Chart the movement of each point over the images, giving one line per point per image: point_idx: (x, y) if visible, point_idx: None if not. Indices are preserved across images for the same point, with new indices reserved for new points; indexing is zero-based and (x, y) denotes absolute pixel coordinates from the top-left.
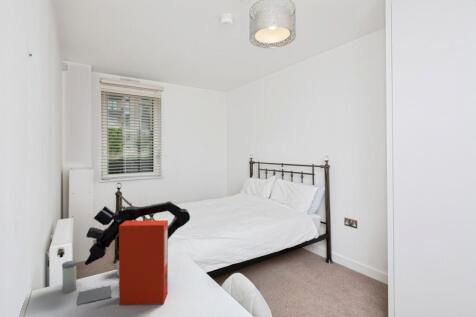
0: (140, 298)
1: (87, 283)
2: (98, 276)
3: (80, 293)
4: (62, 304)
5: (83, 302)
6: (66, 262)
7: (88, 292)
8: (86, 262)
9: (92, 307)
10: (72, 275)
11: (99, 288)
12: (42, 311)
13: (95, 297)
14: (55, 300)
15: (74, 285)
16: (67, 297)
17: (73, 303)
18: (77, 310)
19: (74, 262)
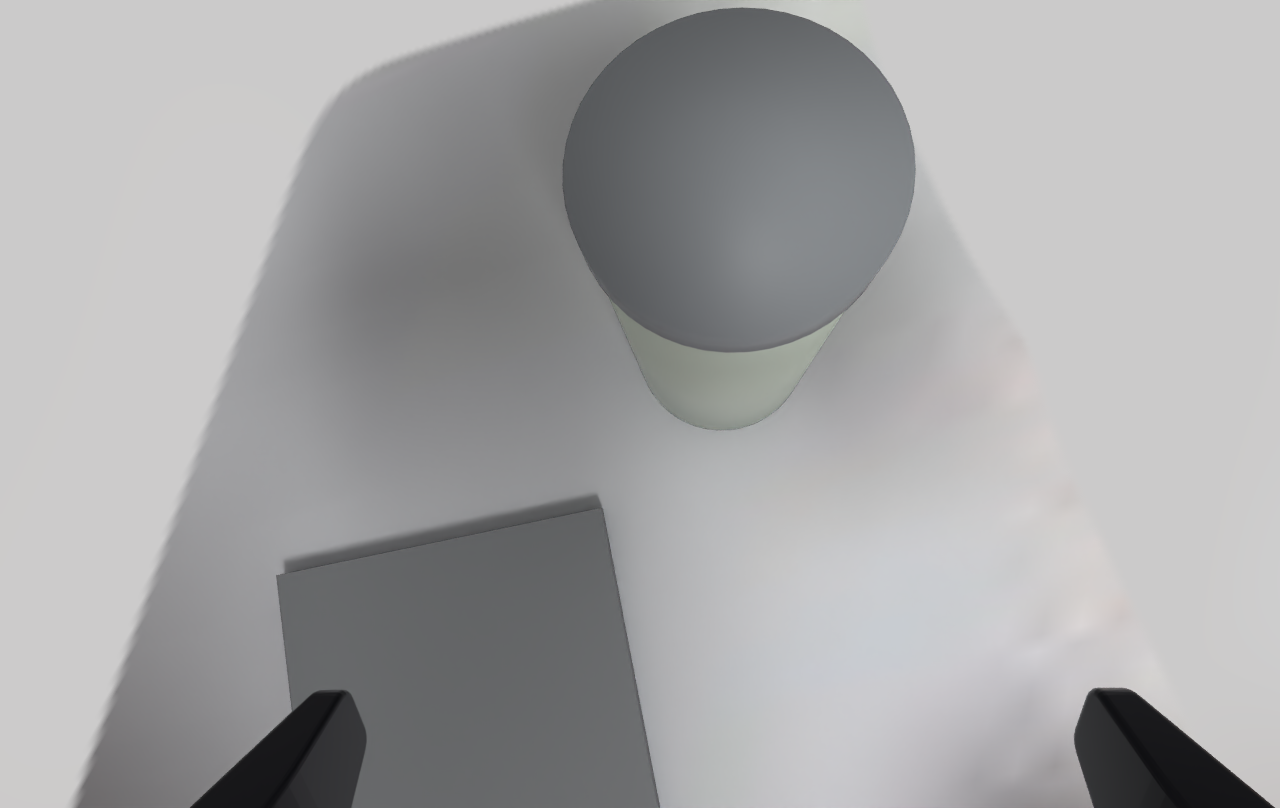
0: None
1: (873, 545)
2: (1096, 667)
3: (547, 535)
4: (376, 381)
5: (300, 639)
6: (806, 74)
7: (547, 641)
8: (261, 774)
9: (184, 776)
10: (643, 351)
11: (624, 783)
12: (297, 216)
13: (376, 776)
14: (497, 265)
15: (680, 410)
16: (529, 385)
17: (356, 507)
18: (182, 603)
19: (752, 290)
